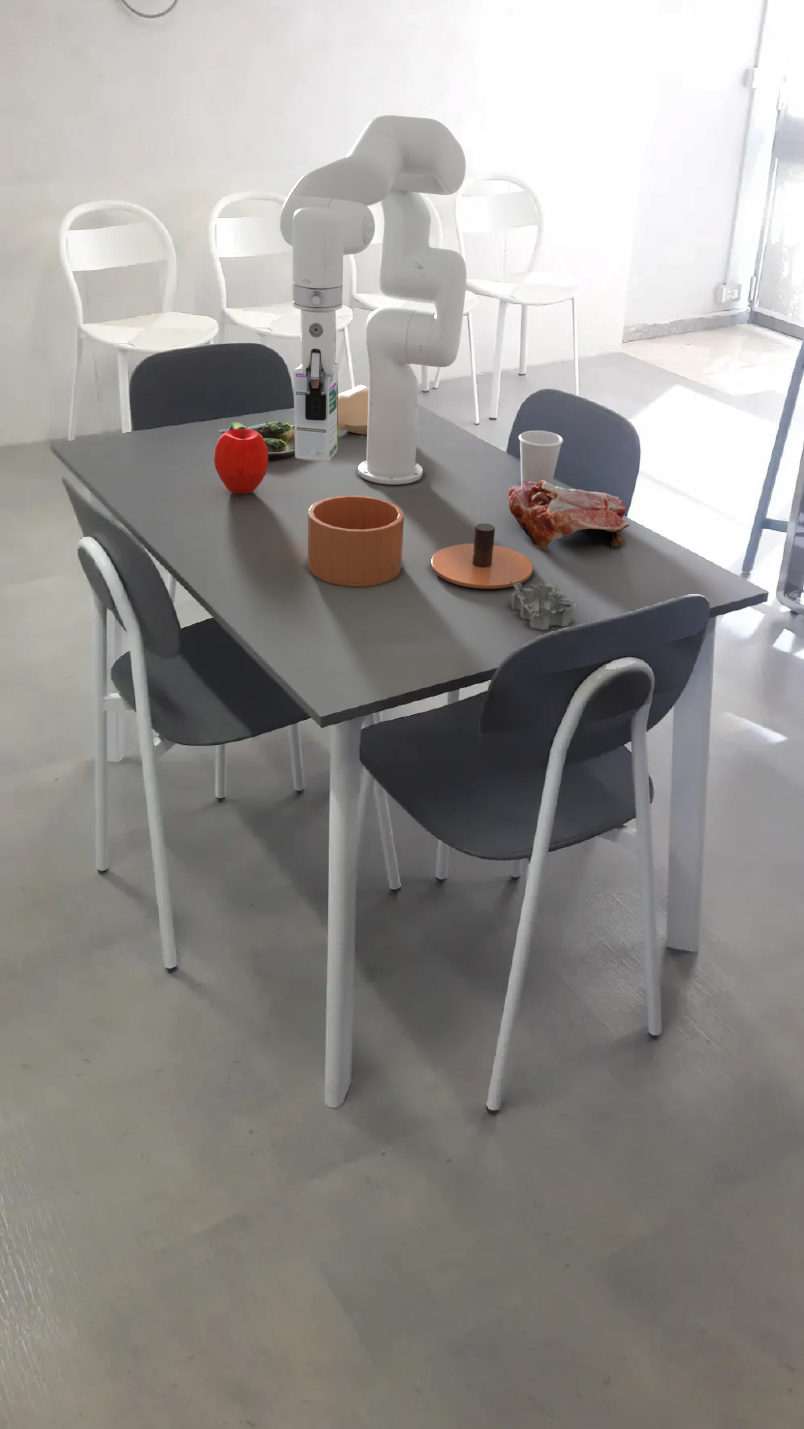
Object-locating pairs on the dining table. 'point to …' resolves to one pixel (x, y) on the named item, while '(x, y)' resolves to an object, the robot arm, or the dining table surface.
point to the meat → (564, 512)
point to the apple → (241, 460)
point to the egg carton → (542, 605)
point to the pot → (355, 540)
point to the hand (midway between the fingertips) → (316, 411)
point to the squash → (353, 410)
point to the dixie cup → (539, 455)
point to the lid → (482, 562)
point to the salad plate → (273, 437)
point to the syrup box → (316, 435)
